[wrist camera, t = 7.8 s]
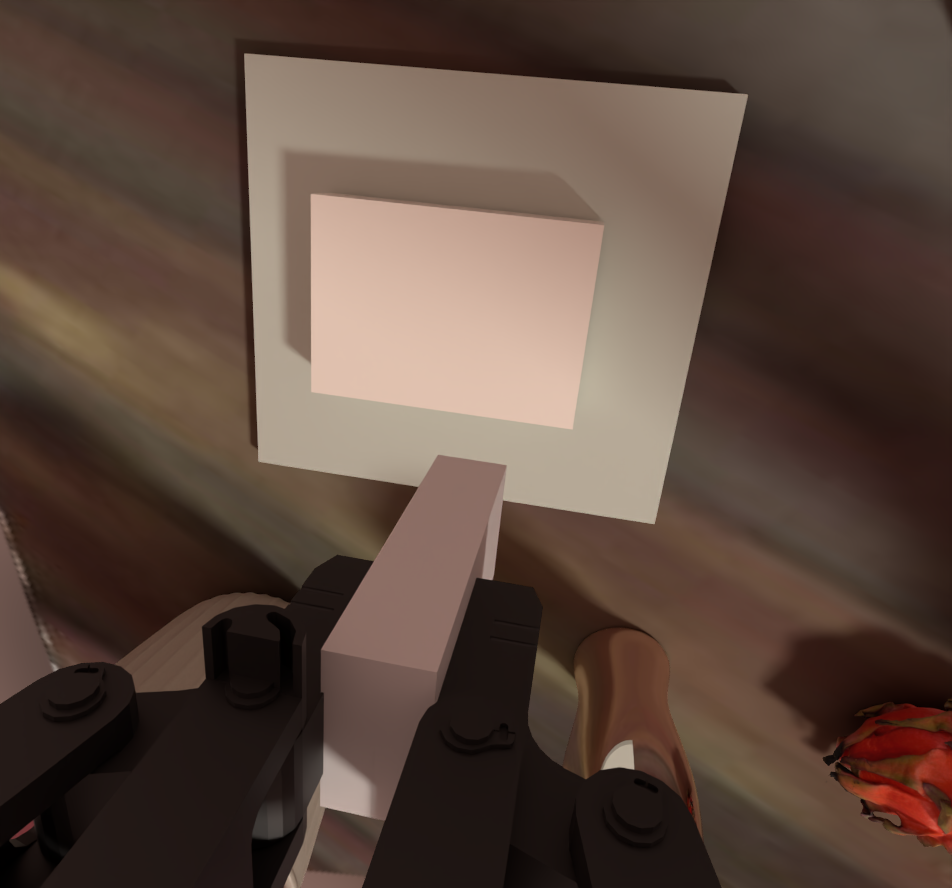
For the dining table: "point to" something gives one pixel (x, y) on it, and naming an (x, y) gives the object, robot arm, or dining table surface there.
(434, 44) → the dining table surface
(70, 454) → the dining table surface
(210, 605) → the canister
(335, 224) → the pale pink rectangular block
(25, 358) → the dining table surface
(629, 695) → the beer glass
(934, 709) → the dragon fruit
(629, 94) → the mat
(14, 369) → the dining table surface
